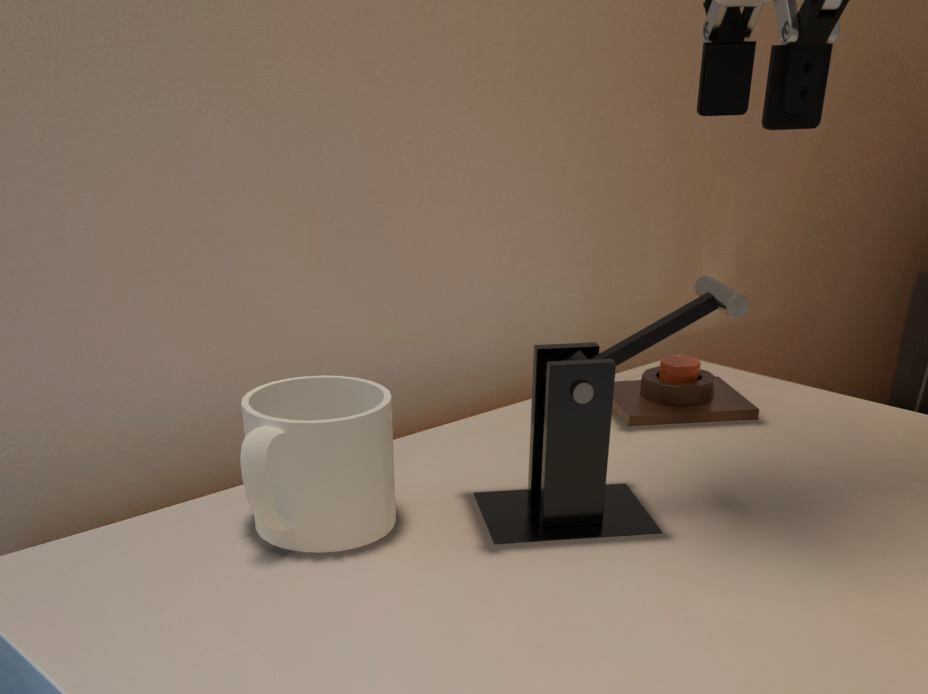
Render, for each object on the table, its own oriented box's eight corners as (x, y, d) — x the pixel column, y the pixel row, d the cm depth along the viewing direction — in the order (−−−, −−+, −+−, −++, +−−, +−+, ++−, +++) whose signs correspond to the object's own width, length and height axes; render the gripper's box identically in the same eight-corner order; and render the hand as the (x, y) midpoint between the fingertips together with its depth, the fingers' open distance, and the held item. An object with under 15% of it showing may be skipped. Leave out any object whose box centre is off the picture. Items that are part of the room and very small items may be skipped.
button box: (715, 398, 99) (721, 357, 97) (756, 432, 90) (763, 389, 88) (597, 404, 97) (600, 363, 95) (627, 439, 89) (631, 395, 87)
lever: (719, 296, 69) (707, 264, 68) (753, 317, 64) (742, 284, 63) (551, 391, 71) (537, 362, 70) (571, 419, 66) (556, 388, 65)
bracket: (624, 498, 78) (640, 332, 71) (661, 549, 70) (683, 368, 64) (472, 507, 76) (474, 339, 70) (493, 560, 69) (497, 377, 62)
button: (690, 373, 94) (692, 354, 93) (704, 385, 91) (706, 365, 90) (653, 375, 93) (655, 356, 92) (665, 386, 90) (668, 367, 89)
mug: (310, 498, 78) (299, 368, 73) (421, 524, 74) (418, 388, 68) (204, 564, 69) (182, 419, 63) (324, 597, 65) (312, 446, 59)
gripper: (974, -309, 43) (889, 132, 52) (795, -226, 58) (753, 109, 67) (810, -312, 42) (753, 138, 51) (671, -226, 57) (645, 113, 66)
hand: (753, 121), depth 59 cm, fingers open, 9 cm apart
